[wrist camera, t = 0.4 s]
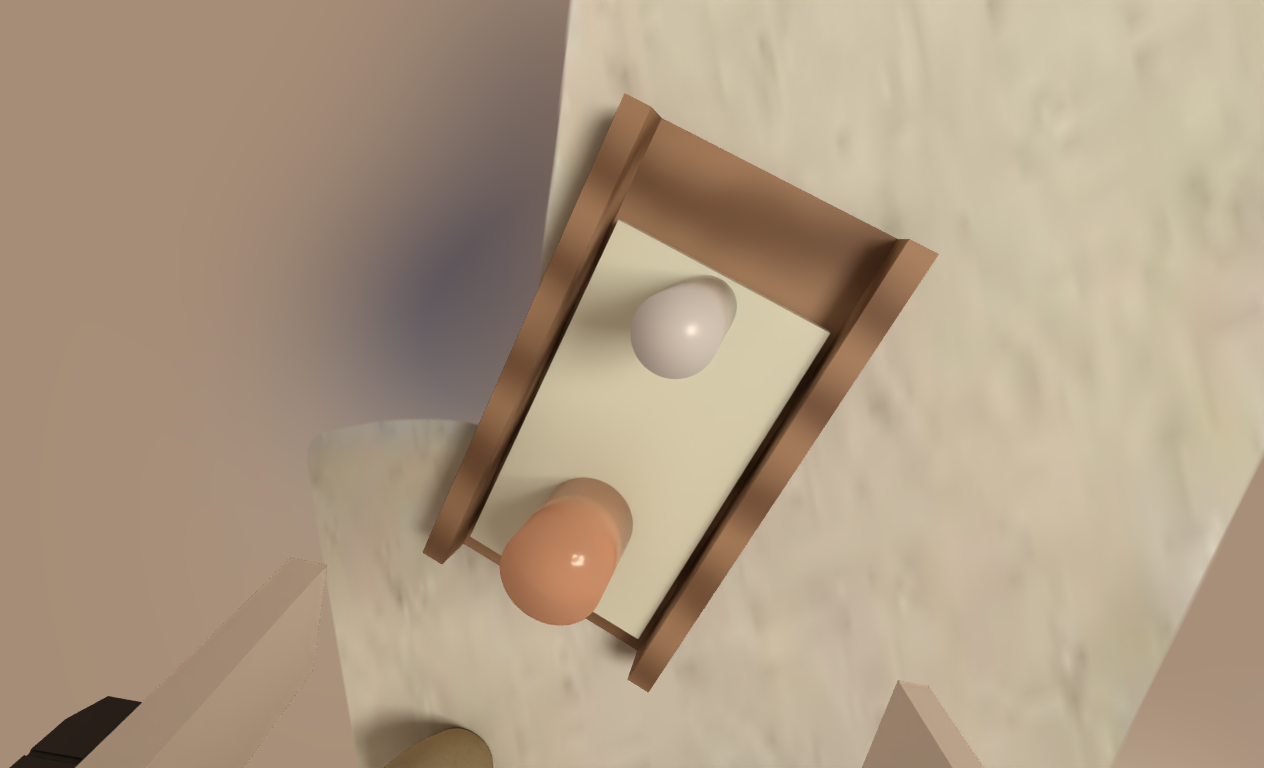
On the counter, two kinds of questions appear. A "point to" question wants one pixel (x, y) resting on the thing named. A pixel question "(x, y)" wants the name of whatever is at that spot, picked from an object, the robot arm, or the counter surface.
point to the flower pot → (446, 752)
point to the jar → (567, 552)
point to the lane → (739, 248)
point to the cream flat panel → (653, 408)
